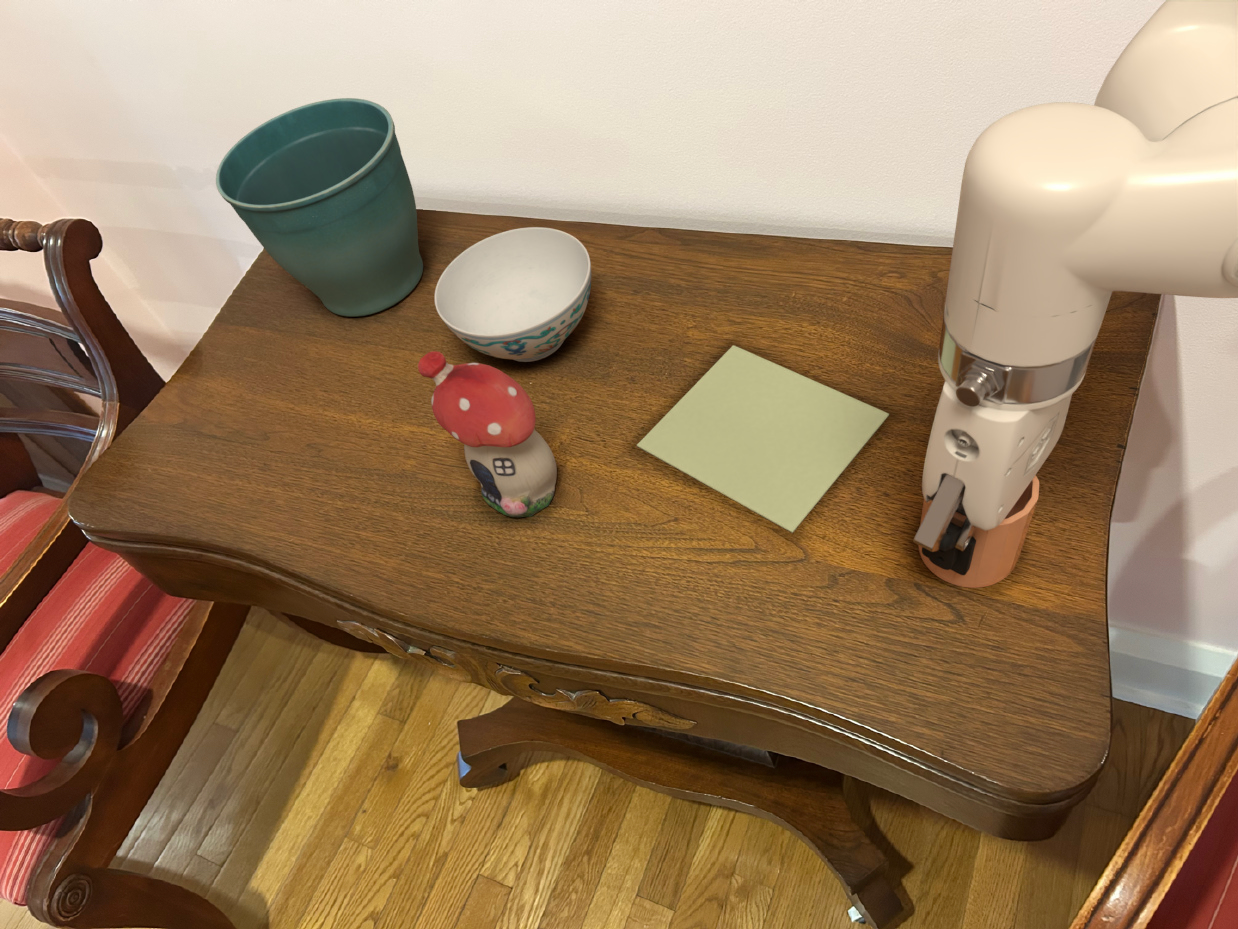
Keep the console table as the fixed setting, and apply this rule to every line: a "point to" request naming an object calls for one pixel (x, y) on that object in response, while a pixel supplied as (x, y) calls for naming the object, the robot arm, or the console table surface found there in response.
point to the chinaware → (516, 292)
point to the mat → (763, 436)
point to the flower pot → (330, 202)
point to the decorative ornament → (494, 433)
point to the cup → (992, 544)
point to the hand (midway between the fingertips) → (972, 522)
